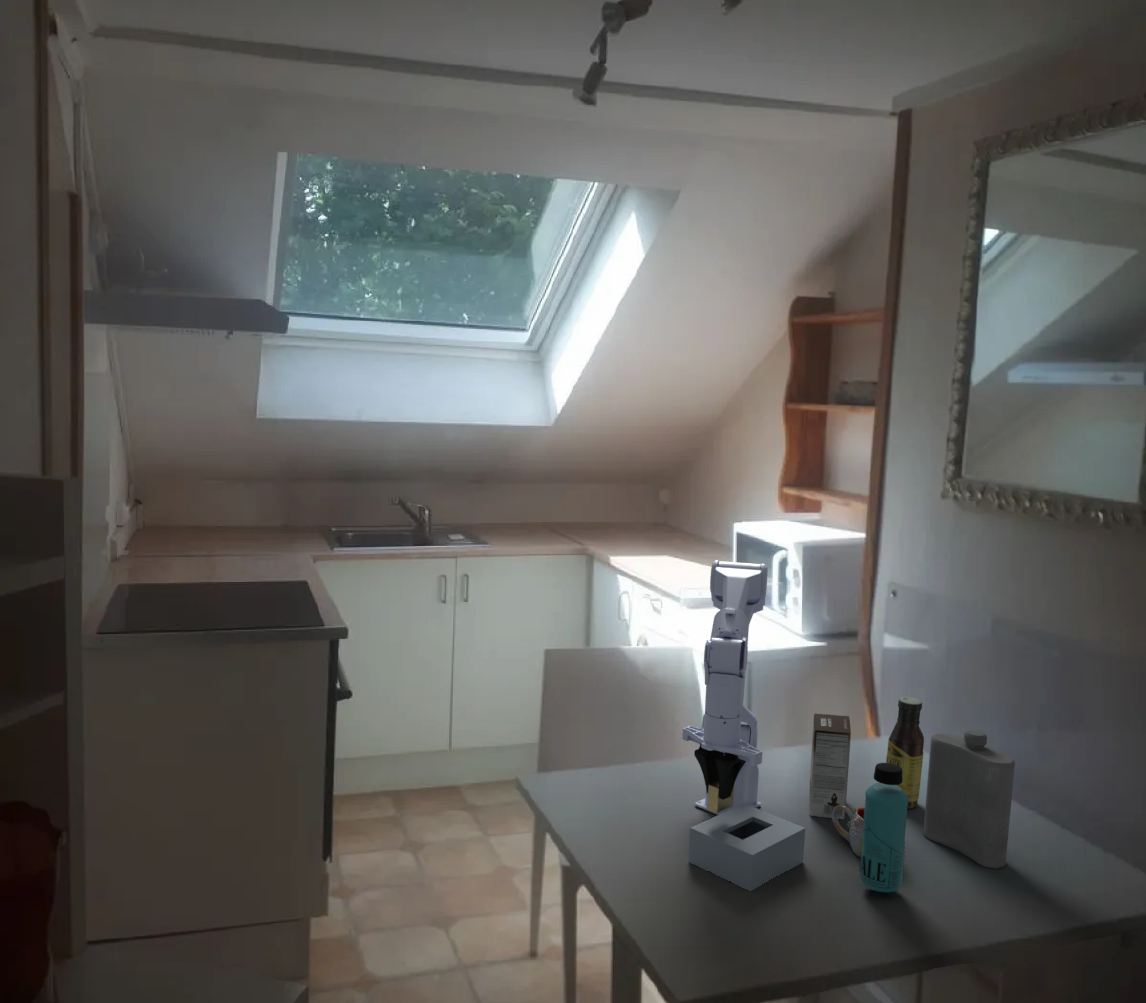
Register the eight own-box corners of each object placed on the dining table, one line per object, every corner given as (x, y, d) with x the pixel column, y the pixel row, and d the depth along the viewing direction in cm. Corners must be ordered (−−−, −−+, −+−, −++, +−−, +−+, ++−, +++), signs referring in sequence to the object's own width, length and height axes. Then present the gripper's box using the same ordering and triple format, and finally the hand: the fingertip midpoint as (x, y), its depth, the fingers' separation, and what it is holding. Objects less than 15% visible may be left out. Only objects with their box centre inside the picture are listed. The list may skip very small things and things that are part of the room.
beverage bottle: (902, 885, 160) (912, 761, 157) (901, 906, 153) (911, 777, 151) (859, 877, 162) (867, 754, 159) (855, 898, 156) (865, 770, 153)
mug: (901, 858, 169) (905, 819, 168) (872, 867, 165) (875, 827, 165) (847, 828, 179) (850, 791, 178) (818, 836, 176) (821, 798, 175)
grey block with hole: (742, 836, 175) (744, 803, 174) (803, 862, 166) (805, 828, 165) (688, 862, 165) (690, 827, 164) (750, 891, 156) (752, 855, 156)
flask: (1015, 863, 168) (1026, 745, 165) (992, 872, 165) (1003, 751, 162) (939, 827, 181) (949, 716, 178) (917, 834, 178) (926, 721, 175)
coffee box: (807, 795, 192) (813, 712, 190) (843, 799, 191) (849, 715, 189) (808, 816, 183) (814, 729, 181) (846, 820, 182) (852, 732, 180)
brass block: (723, 802, 169) (724, 778, 168) (732, 806, 167) (734, 782, 167) (707, 808, 166) (708, 784, 165) (717, 813, 165) (718, 788, 164)
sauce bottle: (877, 796, 193) (885, 693, 190) (910, 796, 193) (918, 693, 190) (891, 811, 186) (899, 704, 183) (924, 811, 187) (933, 705, 184)
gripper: (671, 706, 167) (667, 786, 168) (744, 731, 156) (739, 817, 158) (699, 697, 171) (696, 775, 173) (772, 721, 161) (767, 804, 163)
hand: (718, 794), depth 166 cm, fingers closed on brass block, 2 cm apart
